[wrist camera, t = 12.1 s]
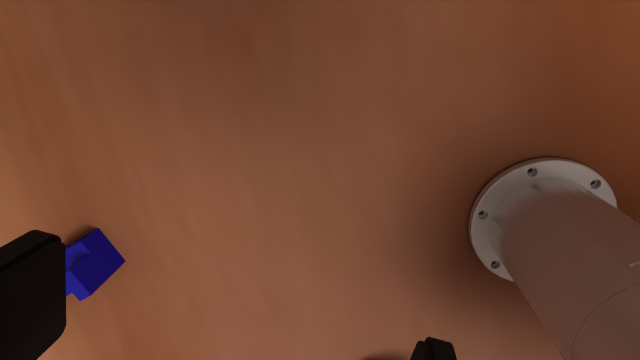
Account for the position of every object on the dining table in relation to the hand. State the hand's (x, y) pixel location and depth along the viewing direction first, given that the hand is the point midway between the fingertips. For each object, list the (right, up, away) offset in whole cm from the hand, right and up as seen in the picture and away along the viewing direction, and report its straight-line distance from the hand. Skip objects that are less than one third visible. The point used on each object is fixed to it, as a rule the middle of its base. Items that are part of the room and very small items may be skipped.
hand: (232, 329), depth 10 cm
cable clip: (-25, -6, +33) cm, 42 cm away
